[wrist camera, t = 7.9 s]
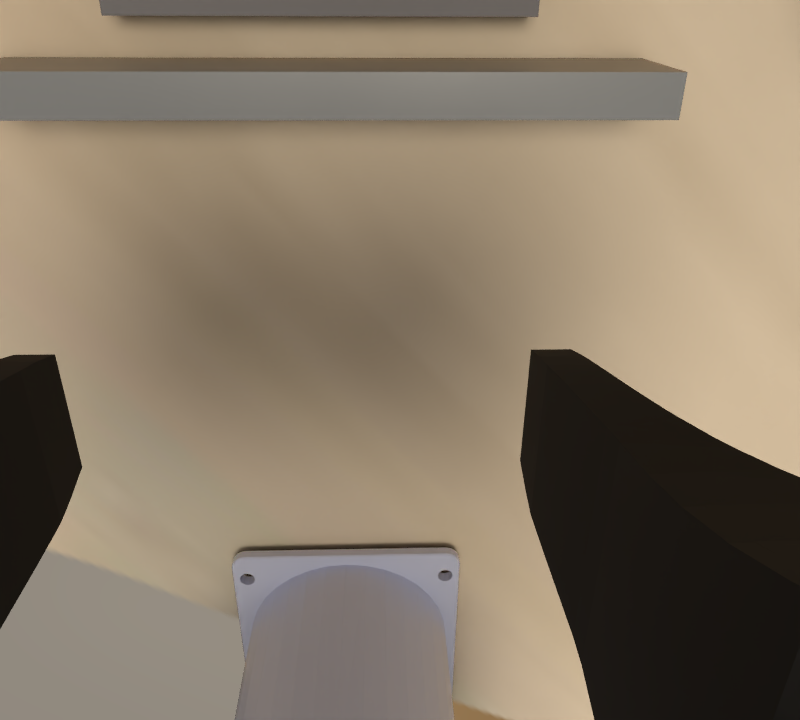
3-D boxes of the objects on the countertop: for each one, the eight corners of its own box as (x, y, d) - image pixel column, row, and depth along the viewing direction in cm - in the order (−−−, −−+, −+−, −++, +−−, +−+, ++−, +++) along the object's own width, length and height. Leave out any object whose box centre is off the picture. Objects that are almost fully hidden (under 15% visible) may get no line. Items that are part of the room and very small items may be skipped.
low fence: (636, 100, 19) (678, 119, 16) (13, 99, 18) (-48, 120, 16) (642, 58, 18) (687, 72, 16) (3, 57, 18) (-62, 71, 15)
